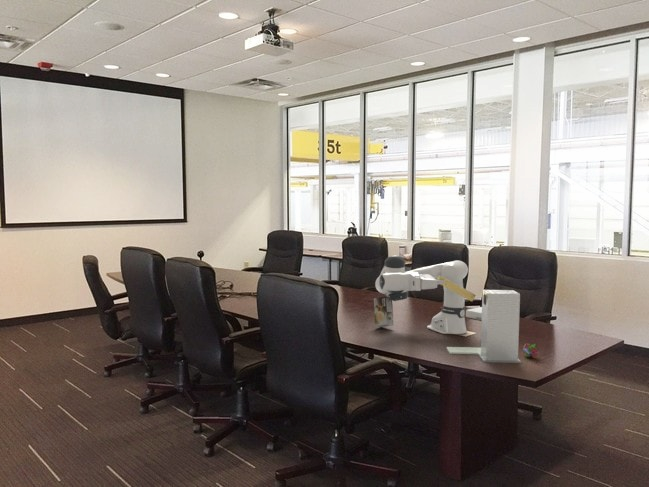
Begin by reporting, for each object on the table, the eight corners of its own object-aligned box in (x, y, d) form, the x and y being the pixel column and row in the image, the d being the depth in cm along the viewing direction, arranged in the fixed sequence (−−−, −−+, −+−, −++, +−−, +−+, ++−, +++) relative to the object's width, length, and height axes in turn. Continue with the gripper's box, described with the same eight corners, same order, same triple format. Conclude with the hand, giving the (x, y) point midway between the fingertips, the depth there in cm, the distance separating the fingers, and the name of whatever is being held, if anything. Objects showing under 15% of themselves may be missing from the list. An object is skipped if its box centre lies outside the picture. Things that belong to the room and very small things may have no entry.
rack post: (484, 362, 234) (485, 293, 232) (478, 355, 245) (480, 289, 243) (520, 362, 233) (522, 294, 231) (513, 355, 244) (515, 290, 242)
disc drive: (510, 317, 328) (510, 309, 328) (490, 322, 314) (490, 314, 313) (486, 312, 342) (486, 305, 341) (465, 317, 327) (465, 309, 327)
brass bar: (436, 282, 246) (440, 276, 246) (435, 281, 250) (439, 275, 249) (472, 301, 246) (475, 295, 246) (470, 300, 250) (473, 293, 250)
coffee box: (394, 325, 294) (392, 297, 298) (387, 324, 289) (386, 296, 294) (381, 327, 300) (379, 299, 304) (374, 326, 295) (373, 298, 300)
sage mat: (449, 353, 247) (449, 352, 247) (446, 348, 256) (446, 346, 256) (497, 354, 246) (497, 353, 246) (492, 349, 255) (492, 347, 254)
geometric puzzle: (545, 354, 239) (536, 338, 243) (535, 356, 235) (526, 340, 239) (534, 360, 244) (525, 344, 248) (524, 362, 241) (516, 346, 244)
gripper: (411, 284, 259) (439, 283, 258) (417, 291, 238) (448, 291, 238) (411, 271, 258) (439, 271, 258) (417, 277, 238) (448, 277, 237)
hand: (443, 280), depth 248 cm, fingers closed on brass bar, 3 cm apart
